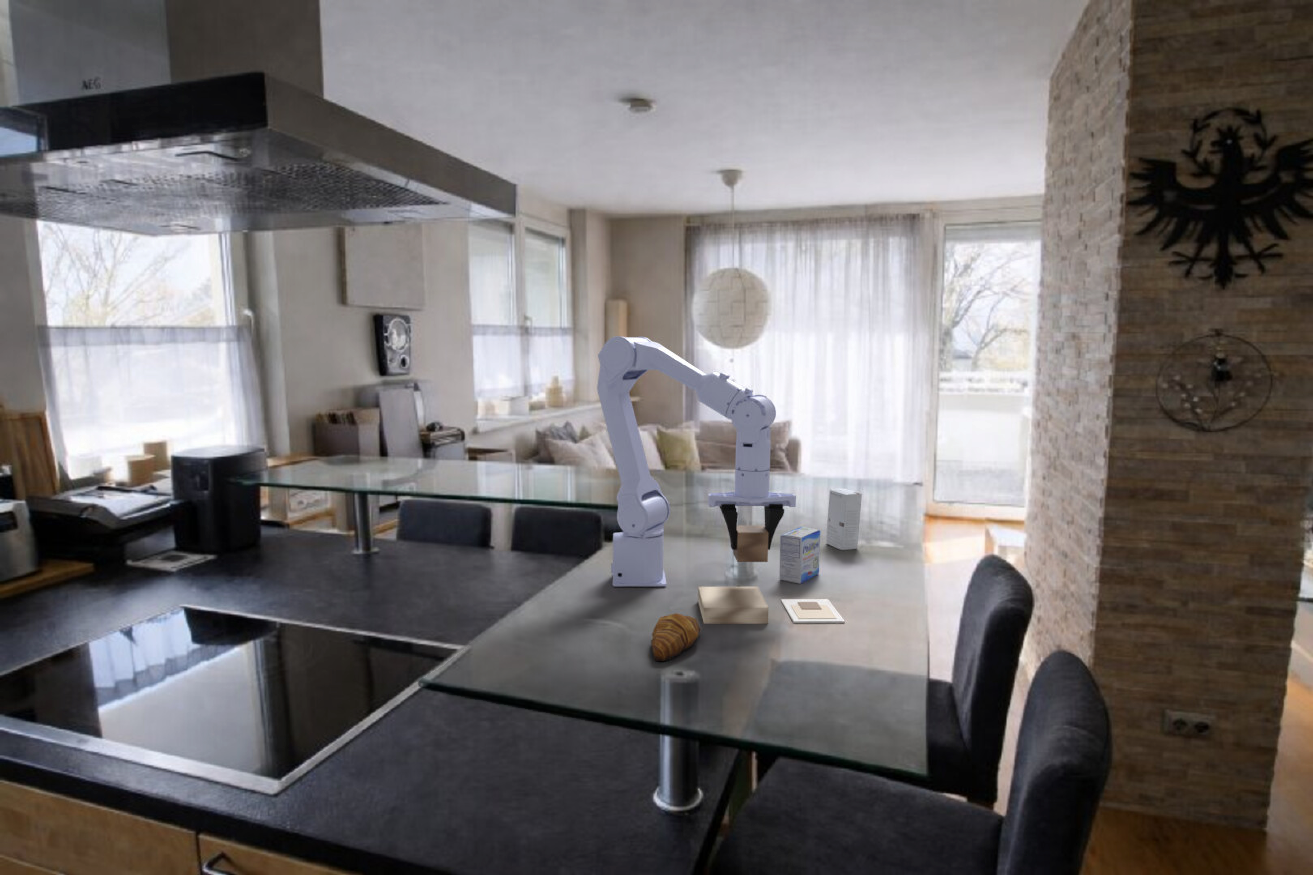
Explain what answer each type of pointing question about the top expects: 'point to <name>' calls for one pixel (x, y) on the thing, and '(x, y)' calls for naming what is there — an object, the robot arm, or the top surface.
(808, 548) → the medicine box
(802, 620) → the picture card
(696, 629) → the croissant
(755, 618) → the maple block
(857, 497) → the skincare box
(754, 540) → the walnut cube
